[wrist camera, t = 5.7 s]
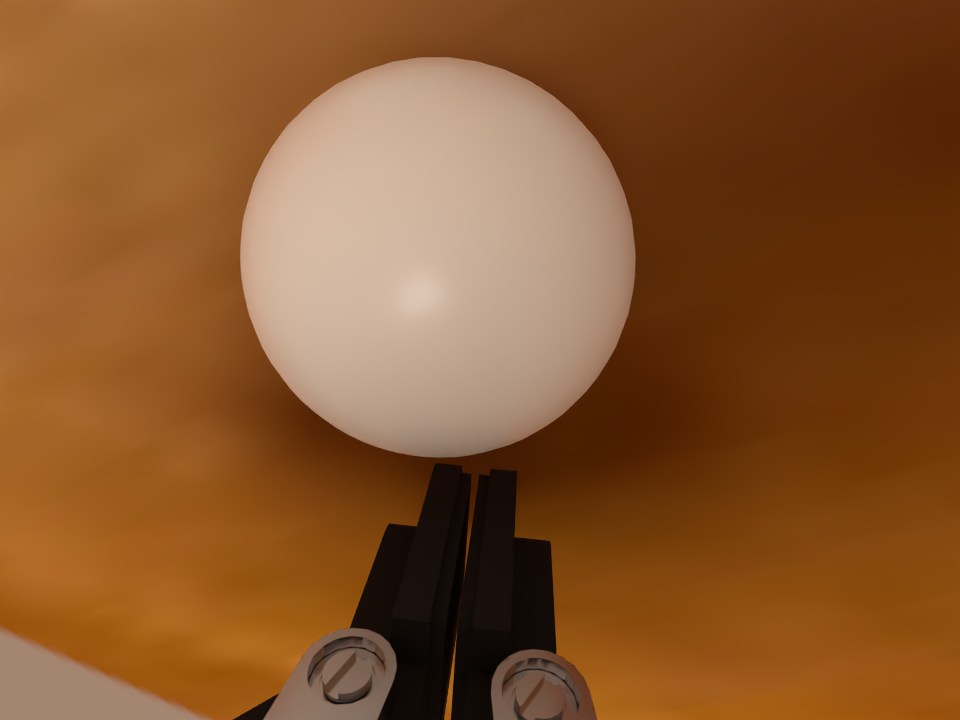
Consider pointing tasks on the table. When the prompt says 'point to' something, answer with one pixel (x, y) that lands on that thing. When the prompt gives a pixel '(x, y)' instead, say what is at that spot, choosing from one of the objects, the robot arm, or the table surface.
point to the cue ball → (437, 257)
